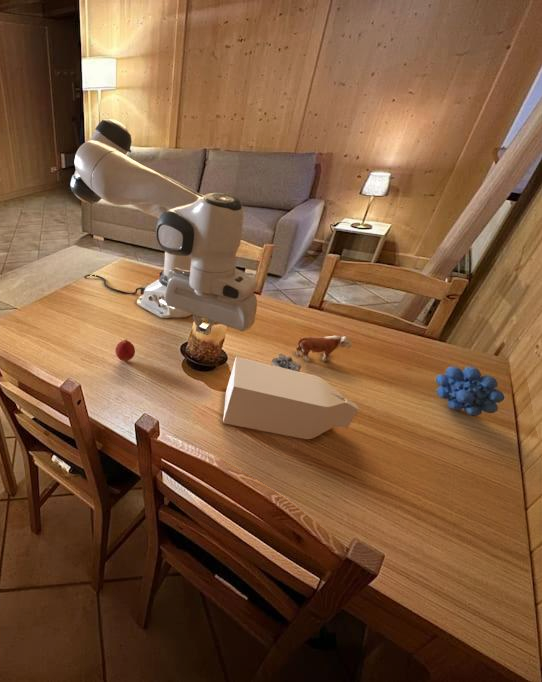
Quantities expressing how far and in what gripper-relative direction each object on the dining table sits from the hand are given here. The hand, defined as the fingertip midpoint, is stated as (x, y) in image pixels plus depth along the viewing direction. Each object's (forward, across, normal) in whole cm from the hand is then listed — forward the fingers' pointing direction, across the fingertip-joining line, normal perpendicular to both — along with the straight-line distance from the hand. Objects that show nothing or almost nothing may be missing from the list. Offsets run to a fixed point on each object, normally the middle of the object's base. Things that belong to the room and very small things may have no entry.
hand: (203, 332), depth 83 cm
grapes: (+20, +49, +35) cm, 63 cm away
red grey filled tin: (+21, +16, +17) cm, 31 cm away
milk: (+14, +8, +2) cm, 16 cm away
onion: (+21, -24, +1) cm, 32 cm away
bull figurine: (+21, +19, +37) cm, 46 cm away
